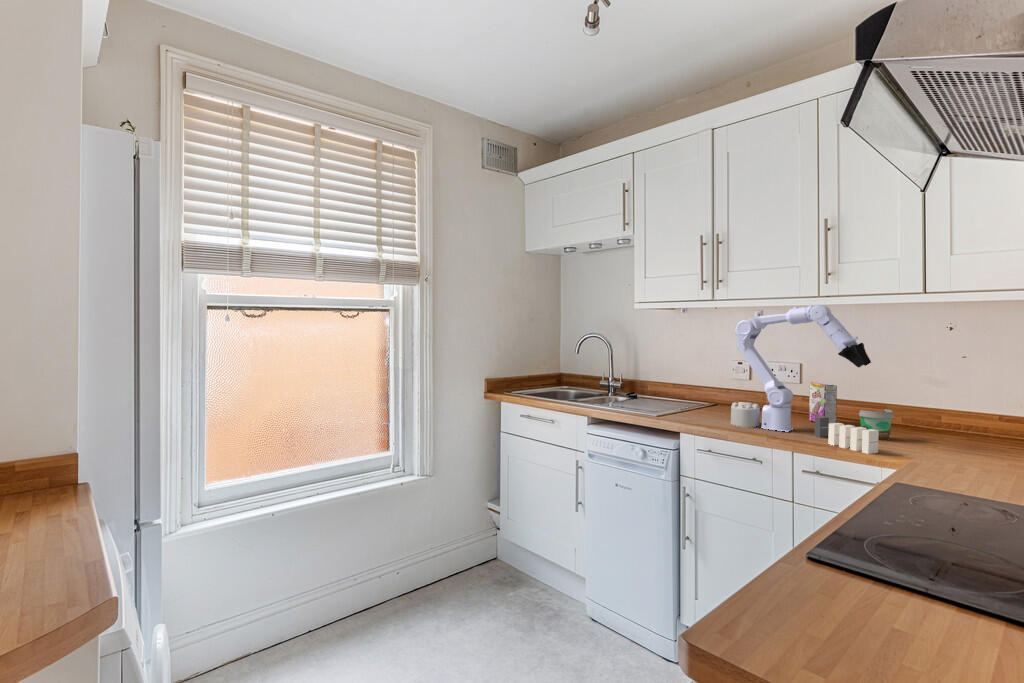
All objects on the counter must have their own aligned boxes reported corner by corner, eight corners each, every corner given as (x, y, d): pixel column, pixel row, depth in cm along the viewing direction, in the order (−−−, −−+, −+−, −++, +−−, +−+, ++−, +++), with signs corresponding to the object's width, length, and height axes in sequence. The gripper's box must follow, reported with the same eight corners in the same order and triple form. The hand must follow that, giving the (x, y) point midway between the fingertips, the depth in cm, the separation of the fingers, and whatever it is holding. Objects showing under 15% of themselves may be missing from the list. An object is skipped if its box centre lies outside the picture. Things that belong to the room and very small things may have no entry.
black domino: (814, 436, 181) (814, 417, 181) (823, 435, 182) (823, 416, 182) (819, 437, 179) (820, 418, 179) (828, 437, 180) (829, 417, 180)
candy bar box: (807, 421, 212) (809, 381, 211) (820, 421, 212) (821, 381, 211) (823, 426, 201) (825, 384, 200) (836, 426, 201) (837, 384, 200)
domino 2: (838, 447, 165) (839, 425, 165) (848, 446, 167) (849, 424, 166) (844, 448, 163) (845, 426, 163) (854, 447, 165) (855, 426, 164)
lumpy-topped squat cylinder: (759, 423, 206) (759, 401, 206) (759, 428, 194) (760, 406, 194) (731, 421, 210) (731, 400, 210) (730, 426, 198) (730, 404, 198)
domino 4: (861, 452, 158) (862, 430, 158) (871, 451, 160) (871, 429, 159) (868, 453, 156) (868, 431, 156) (877, 452, 158) (878, 430, 158)
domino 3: (850, 449, 162) (850, 427, 161) (859, 448, 163) (860, 426, 163) (856, 451, 160) (857, 428, 159) (865, 450, 161) (866, 428, 161)
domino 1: (828, 444, 168) (828, 423, 168) (837, 443, 170) (838, 422, 170) (833, 445, 167) (834, 424, 166) (843, 444, 168) (843, 423, 168)
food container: (874, 442, 173) (875, 412, 172) (858, 438, 179) (859, 410, 178) (902, 440, 176) (903, 411, 176) (885, 436, 182) (886, 408, 182)
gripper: (840, 326, 171) (870, 359, 165) (854, 325, 181) (882, 356, 175) (822, 339, 176) (850, 371, 170) (836, 337, 185) (862, 368, 179)
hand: (865, 365), depth 173 cm, fingers open, 7 cm apart
